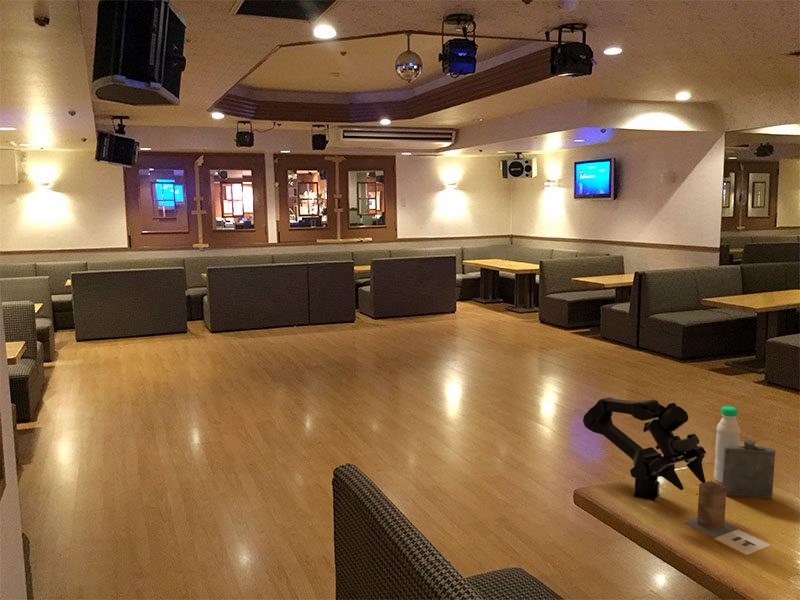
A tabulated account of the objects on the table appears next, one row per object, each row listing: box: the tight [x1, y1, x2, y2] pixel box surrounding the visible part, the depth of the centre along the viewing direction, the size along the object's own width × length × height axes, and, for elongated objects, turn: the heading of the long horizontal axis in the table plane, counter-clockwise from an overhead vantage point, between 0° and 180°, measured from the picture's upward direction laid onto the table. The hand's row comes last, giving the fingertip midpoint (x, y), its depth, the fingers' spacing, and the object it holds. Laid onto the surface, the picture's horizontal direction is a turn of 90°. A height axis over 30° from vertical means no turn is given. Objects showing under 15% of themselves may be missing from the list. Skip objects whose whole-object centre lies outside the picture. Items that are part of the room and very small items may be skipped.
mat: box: [683, 516, 739, 539], centre depth 190 cm, size 10×10×1 cm
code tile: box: [713, 528, 771, 556], centre depth 181 cm, size 10×10×1 cm
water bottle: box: [713, 405, 741, 484], centre depth 218 cm, size 7×7×25 cm
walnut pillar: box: [696, 480, 727, 531], centre depth 189 cm, size 5×5×12 cm
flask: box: [721, 439, 776, 501], centre depth 207 cm, size 4×14×18 cm, turn 75°
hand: (693, 486), depth 194 cm, fingers open, 9 cm apart
